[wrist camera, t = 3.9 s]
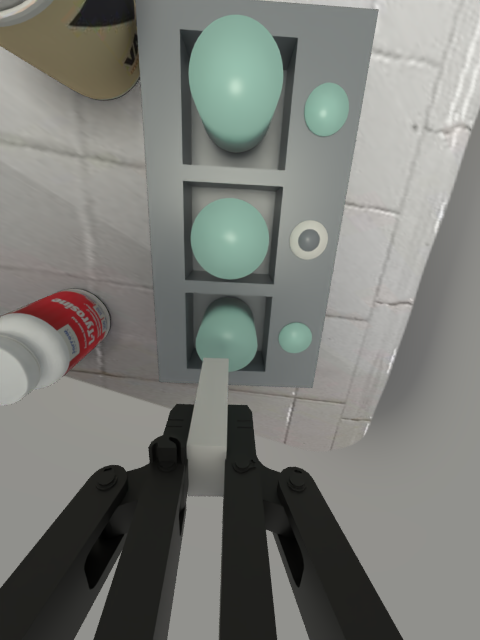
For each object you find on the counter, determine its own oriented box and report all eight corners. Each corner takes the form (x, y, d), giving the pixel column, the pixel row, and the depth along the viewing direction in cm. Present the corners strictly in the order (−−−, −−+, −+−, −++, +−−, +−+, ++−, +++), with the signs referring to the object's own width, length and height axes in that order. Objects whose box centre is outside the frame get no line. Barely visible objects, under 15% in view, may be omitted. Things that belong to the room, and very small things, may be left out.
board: (171, 355, 30) (158, 383, 25) (158, 42, 20) (133, -13, 15) (300, 360, 30) (313, 389, 25) (346, 55, 21) (380, 6, 16)
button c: (200, 150, 19) (189, 130, 15) (201, 64, 18) (187, 11, 13) (268, 154, 20) (278, 135, 15) (275, 69, 18) (288, 18, 13)
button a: (203, 343, 27) (195, 370, 22) (203, 296, 25) (195, 314, 20) (252, 345, 27) (255, 373, 22) (255, 298, 25) (259, 317, 21)
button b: (200, 264, 22) (191, 277, 18) (201, 199, 21) (190, 195, 16) (259, 267, 22) (265, 281, 18) (264, 203, 21) (272, 200, 16)
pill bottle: (124, 326, 28) (60, 390, 18) (80, 353, 29) (-5, 429, 19) (82, 275, 26) (-17, 314, 16) (36, 306, 27) (-84, 362, 17)
